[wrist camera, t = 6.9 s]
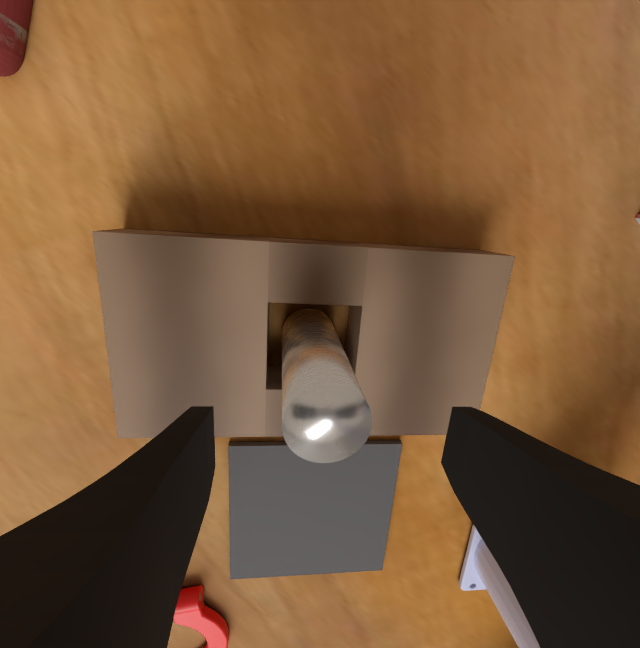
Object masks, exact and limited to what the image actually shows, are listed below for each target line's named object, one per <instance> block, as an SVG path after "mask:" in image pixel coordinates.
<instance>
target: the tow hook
mask: <svg viewBox="0 0 640 648" xmlns="http://www.w3.org/2000/svg"><path fill="white" fill-rule="evenodd" d="M203 601H204V590H203V586H202V585H199V586H193V587H188V588H183V589H181V591H180V595H179V598H178V602H177V606H176V609H175V614H174V618H173V619H174V622H175V623H176V624H178V625H184V626H188V627H191V628H193V629H195V630H197V631H199V632H200V633H201V634H202V635H203V636H204V637H205V639H206V641H207V644H206V645H205V646H204V648H228V640H229V629H228V626H227V624H226V622H225V620H224V619H223V618H222V617H221V616H220V615H219V614H218V613H217V612H216V611H214V610H212V609H210V608H209V607H207V606H205V605H204V602H203Z"/></svg>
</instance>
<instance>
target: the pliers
mask: <svg viewBox="0 0 640 648" xmlns="http://www.w3.org/2000/svg"><path fill="white" fill-rule="evenodd" d="M32 4H33V0H0V76H4V77H5V76H10V75H13V74H15V73H16V72H17V71H18V70H19V69H20V67H21V65H22V63H23V60H24V53H25V47H26V40H27V34H28V28H29V22H30V16H31V10H32Z"/></svg>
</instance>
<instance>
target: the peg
mask: <svg viewBox="0 0 640 648" xmlns="http://www.w3.org/2000/svg"><path fill="white" fill-rule="evenodd" d="M371 429H372V413H371V410H370V407H369V405H368V403H367V401H366V398H365V396H364V394H363V392H362V389H361V387H360V385H359V383H358V380H357V378H356V376H355V374H354V371H353V369H352V367H351V365H350V362H349V360H348V358H347V356H346V353H345V351H344V349H343V347H342V344H341V342H340V340H339V338H338V335H337V333H336V331H335V329H334V326H333V324H332V322H331V320H330V319H329V317H328V316H327V315H326V314H324V313H323V312H321V311H319V310H316V309H311V308H306V309H301V310H298V311H296V312H294V313H293V314H291V315H290V316H289V317H288V318H287V320H286V321H285V323H284V325H283V329H282V433H283V437H284V440H285V442H286V444H287V445H288V447H289V448H290V449H291V450H292V451H293V452H294V453H295V454H296V455H298V456H299V457H301V458H303V459H305V460H308V461H311V462H316V463H332V462H337V461H340V460H343V459H345V458H348V457H349V456H351V455H353V454H354V453H356V452H357V451H358V450H359V449H360V448H361V447H362V446H363V445H364V444H365V442H366V441H367V439H368V437H369V435H370V432H371Z"/></svg>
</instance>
